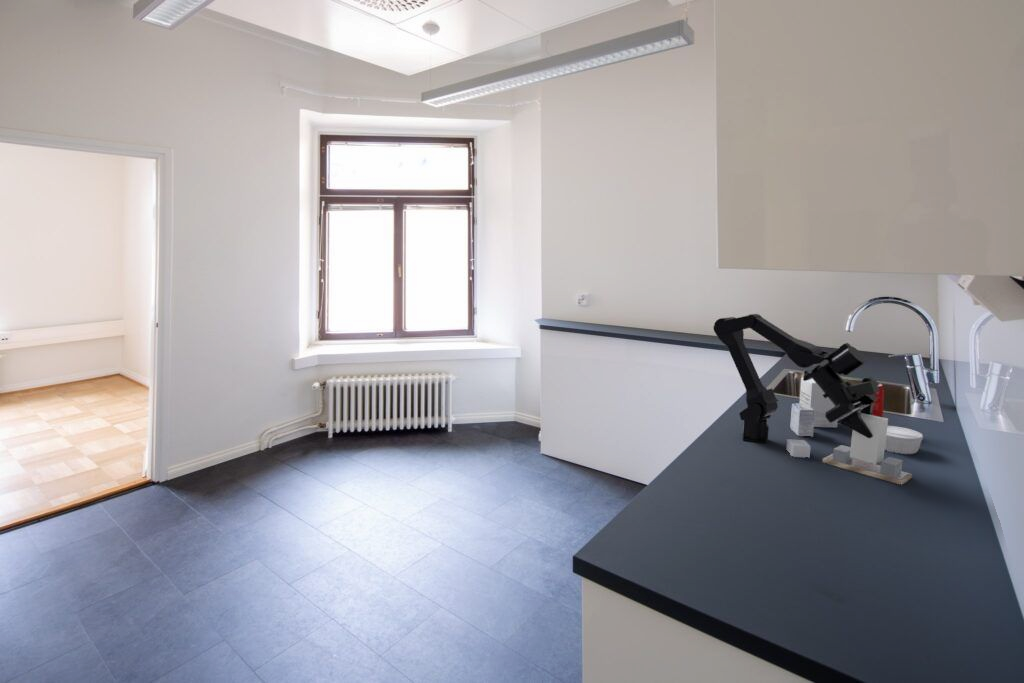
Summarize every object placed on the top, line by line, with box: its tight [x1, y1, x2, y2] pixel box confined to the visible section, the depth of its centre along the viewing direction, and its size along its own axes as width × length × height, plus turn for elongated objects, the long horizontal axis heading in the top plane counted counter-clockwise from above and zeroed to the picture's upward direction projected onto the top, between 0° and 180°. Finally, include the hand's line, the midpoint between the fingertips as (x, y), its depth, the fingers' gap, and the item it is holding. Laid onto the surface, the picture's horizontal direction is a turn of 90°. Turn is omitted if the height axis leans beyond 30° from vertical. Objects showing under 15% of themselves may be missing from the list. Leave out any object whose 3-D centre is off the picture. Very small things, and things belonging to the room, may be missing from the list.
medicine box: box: [789, 402, 815, 438], centre depth 164 cm, size 8×4×9 cm, turn 168°
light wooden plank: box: [826, 454, 909, 480], centre depth 135 cm, size 17×6×1 cm, turn 37°
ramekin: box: [884, 425, 924, 455], centre depth 150 cm, size 11×11×5 cm
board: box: [822, 453, 913, 486], centre depth 135 cm, size 18×7×1 cm, turn 37°
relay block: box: [785, 438, 812, 459], centre depth 146 cm, size 4×5×4 cm
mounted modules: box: [832, 444, 904, 477], centre depth 135 cm, size 14×5×3 cm, turn 37°
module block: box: [850, 413, 889, 465], centre depth 134 cm, size 6×5×11 cm
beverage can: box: [869, 383, 885, 418], centre depth 167 cm, size 6×6×15 cm
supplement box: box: [799, 376, 839, 429], centre depth 173 cm, size 9×9×15 cm
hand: (875, 435), depth 133 cm, fingers closed on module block, 5 cm apart
